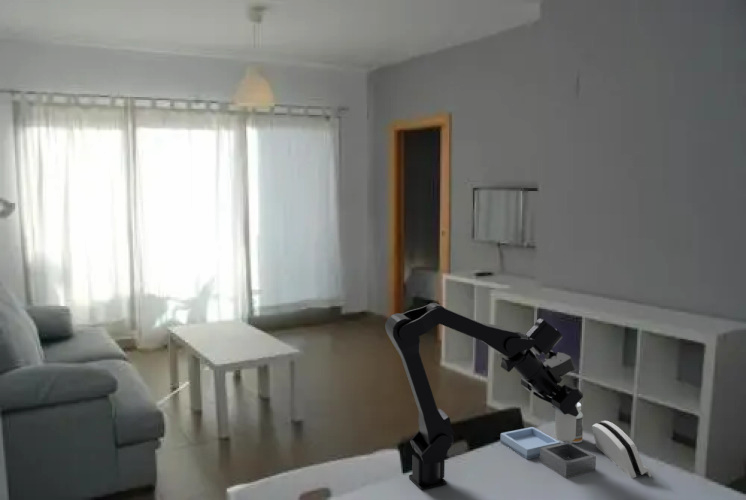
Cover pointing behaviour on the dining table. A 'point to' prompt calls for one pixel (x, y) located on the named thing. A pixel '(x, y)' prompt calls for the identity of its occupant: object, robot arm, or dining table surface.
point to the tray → (527, 441)
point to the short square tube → (575, 466)
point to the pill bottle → (578, 425)
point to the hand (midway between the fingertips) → (571, 411)
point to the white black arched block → (619, 448)
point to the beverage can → (565, 426)
